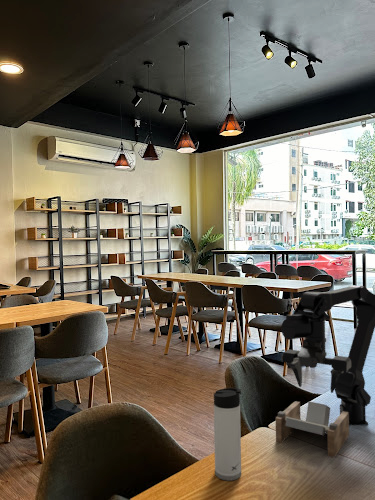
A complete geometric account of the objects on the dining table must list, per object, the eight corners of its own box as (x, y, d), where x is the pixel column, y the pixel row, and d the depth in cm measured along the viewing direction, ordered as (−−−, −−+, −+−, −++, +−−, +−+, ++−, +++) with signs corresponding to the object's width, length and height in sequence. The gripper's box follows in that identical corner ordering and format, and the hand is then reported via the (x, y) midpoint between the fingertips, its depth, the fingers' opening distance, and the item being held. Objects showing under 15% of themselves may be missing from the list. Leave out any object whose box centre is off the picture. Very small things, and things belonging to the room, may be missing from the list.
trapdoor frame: (295, 422, 123) (295, 398, 123) (349, 435, 114) (348, 409, 114) (275, 441, 111) (275, 415, 111) (334, 457, 102) (333, 428, 102)
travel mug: (241, 482, 92) (240, 395, 92) (213, 479, 93) (211, 393, 93) (243, 468, 98) (242, 386, 98) (216, 465, 99) (215, 384, 99)
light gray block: (310, 425, 118) (313, 404, 121) (327, 429, 116) (330, 407, 118) (305, 422, 115) (308, 401, 117) (323, 427, 112) (325, 404, 114)
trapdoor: (298, 431, 120) (299, 422, 121) (339, 441, 113) (340, 432, 114) (281, 424, 110) (283, 415, 111) (326, 435, 103) (327, 425, 104)
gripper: (273, 337, 115) (274, 391, 115) (340, 344, 104) (341, 405, 104) (288, 330, 124) (288, 381, 124) (351, 337, 113) (352, 392, 113)
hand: (315, 389), depth 116 cm, fingers open, 9 cm apart
